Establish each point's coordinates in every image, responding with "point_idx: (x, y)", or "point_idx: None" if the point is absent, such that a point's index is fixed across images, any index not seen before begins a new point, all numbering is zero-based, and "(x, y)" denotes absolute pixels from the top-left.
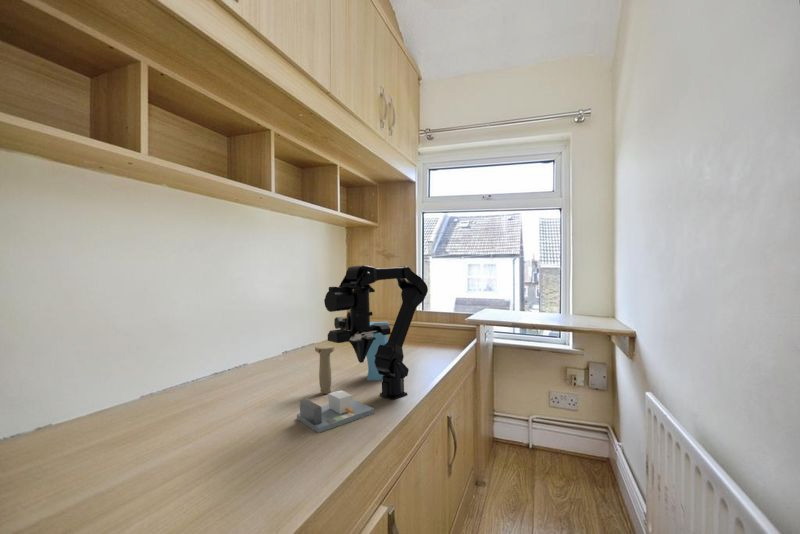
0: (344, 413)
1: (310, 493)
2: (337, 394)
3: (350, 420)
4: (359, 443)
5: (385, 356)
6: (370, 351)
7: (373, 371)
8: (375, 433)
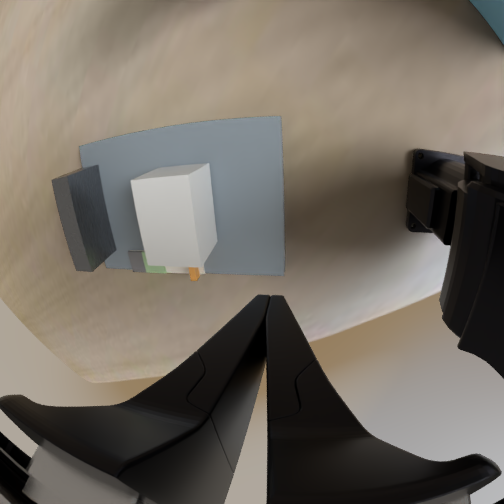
0: None
1: (96, 368)
2: (155, 216)
3: None
4: (171, 348)
5: (484, 320)
6: None
7: (500, 5)
8: None
